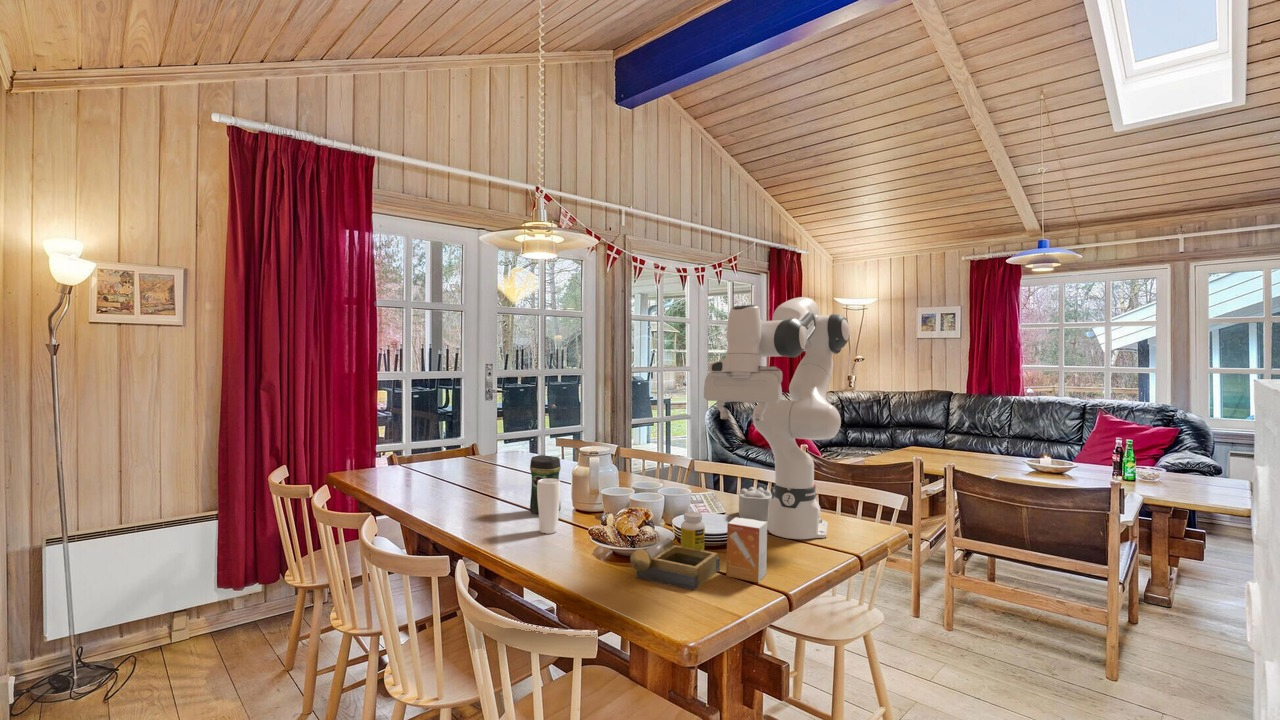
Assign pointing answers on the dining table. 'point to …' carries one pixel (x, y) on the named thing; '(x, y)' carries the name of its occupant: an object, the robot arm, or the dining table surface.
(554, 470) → the coffee jar
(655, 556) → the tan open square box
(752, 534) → the small box
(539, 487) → the drinking glass
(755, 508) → the lumpy-topped squat cylinder
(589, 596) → the dining table surface
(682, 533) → the pill bottle
